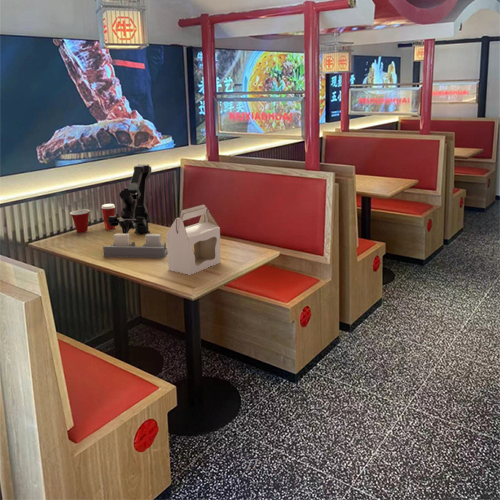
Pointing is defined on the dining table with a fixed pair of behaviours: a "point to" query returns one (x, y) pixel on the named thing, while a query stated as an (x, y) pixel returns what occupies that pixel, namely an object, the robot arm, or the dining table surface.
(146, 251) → the grey compartment tray
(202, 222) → the gable box
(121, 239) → the cream block
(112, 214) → the paper cup
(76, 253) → the dining table surface
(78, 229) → the plastic cup
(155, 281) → the dining table surface
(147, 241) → the white box
